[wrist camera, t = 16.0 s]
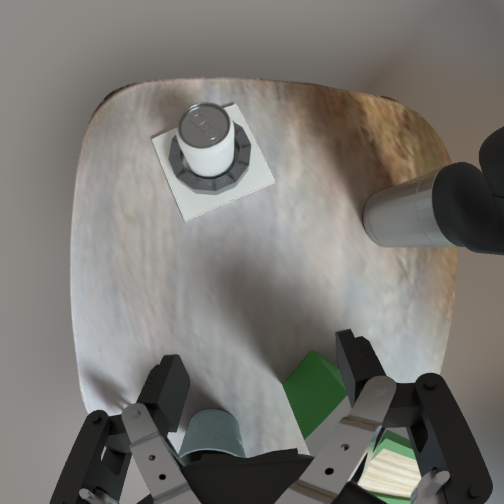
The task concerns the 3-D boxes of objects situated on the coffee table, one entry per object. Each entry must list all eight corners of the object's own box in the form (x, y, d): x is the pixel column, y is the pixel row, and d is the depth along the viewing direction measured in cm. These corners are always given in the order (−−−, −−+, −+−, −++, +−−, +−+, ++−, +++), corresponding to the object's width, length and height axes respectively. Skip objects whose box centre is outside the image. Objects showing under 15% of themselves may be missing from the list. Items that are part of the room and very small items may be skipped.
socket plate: (236, 106, 40) (236, 103, 39) (274, 183, 40) (275, 181, 39) (153, 141, 39) (151, 139, 38) (186, 222, 39) (184, 221, 38)
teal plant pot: (180, 439, 40) (169, 484, 28) (191, 396, 40) (180, 440, 28) (236, 451, 40) (238, 497, 28) (252, 411, 40) (258, 456, 28)
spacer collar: (231, 114, 39) (231, 105, 36) (261, 176, 39) (264, 170, 36) (163, 142, 38) (158, 135, 35) (190, 207, 38) (187, 204, 36)
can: (206, 189, 39) (196, 164, 27) (180, 156, 38) (161, 122, 26) (242, 162, 39) (247, 128, 27) (215, 131, 39) (210, 89, 27)
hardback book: (379, 394, 42) (457, 465, 18) (353, 423, 42) (415, 506, 18) (311, 349, 41) (385, 438, 17) (282, 384, 41) (326, 492, 17)
